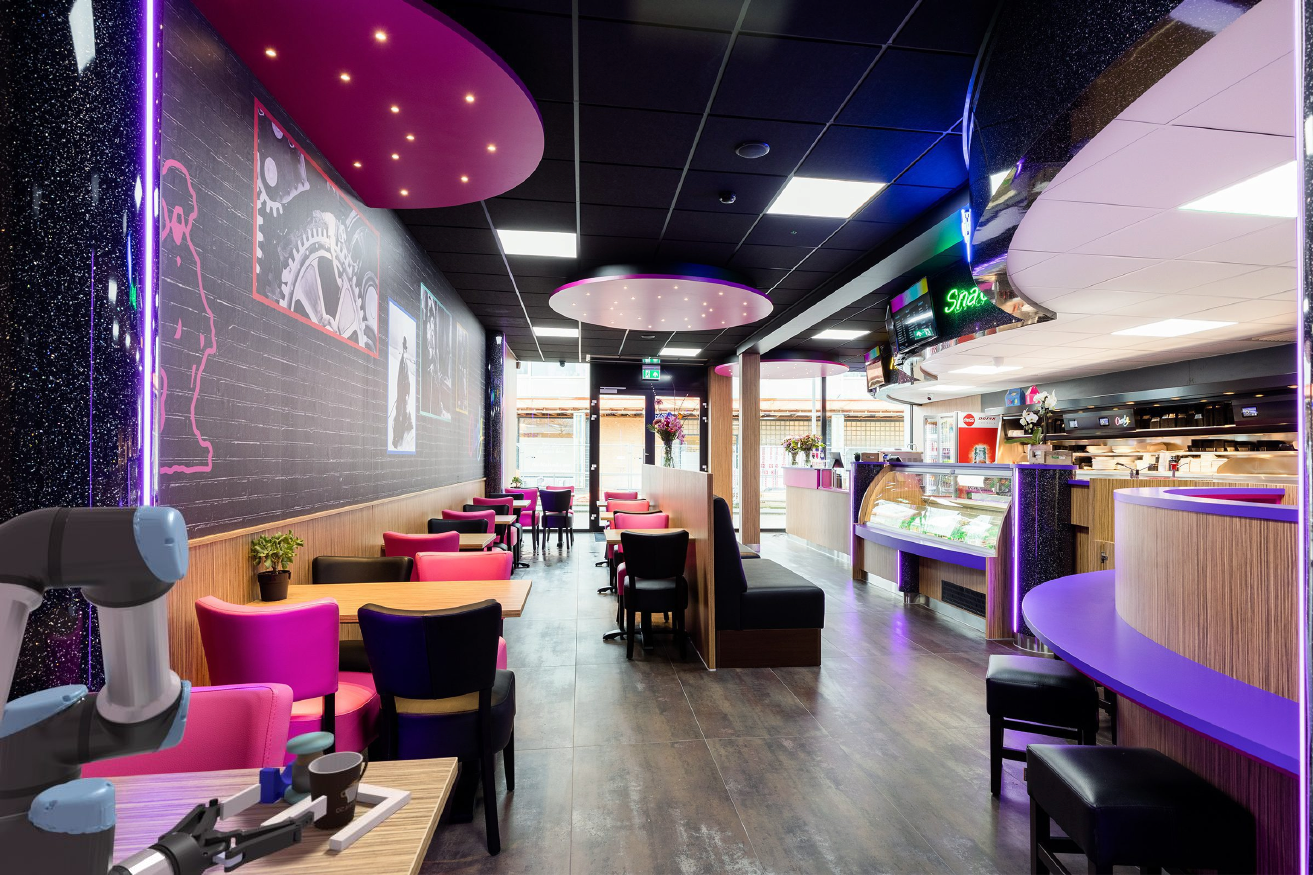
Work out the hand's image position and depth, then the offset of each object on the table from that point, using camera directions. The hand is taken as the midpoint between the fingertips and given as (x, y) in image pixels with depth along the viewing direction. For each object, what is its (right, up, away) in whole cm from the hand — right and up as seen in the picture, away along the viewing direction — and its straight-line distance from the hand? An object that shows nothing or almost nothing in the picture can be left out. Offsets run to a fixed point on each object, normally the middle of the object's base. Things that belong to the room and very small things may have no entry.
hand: (291, 797), depth 103 cm
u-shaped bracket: (+3, -9, +10) cm, 13 cm away
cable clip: (-13, -10, +20) cm, 26 cm away
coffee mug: (+4, -9, +9) cm, 14 cm away
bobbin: (-7, -9, +18) cm, 21 cm away
